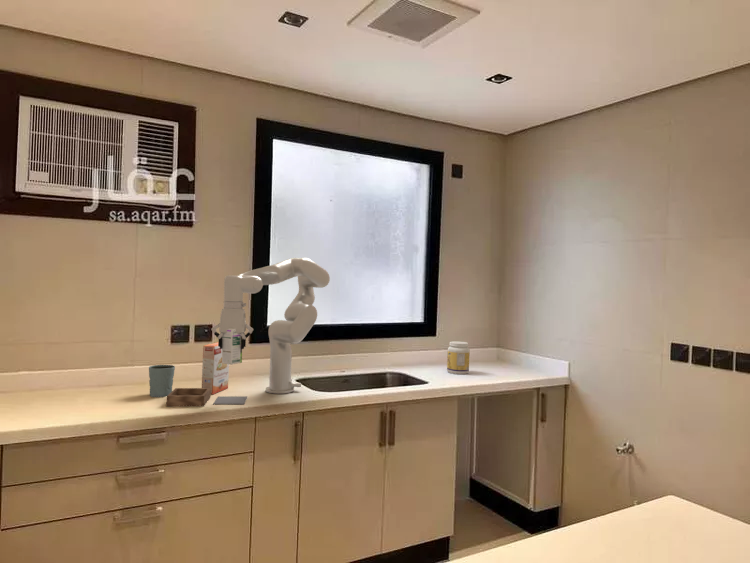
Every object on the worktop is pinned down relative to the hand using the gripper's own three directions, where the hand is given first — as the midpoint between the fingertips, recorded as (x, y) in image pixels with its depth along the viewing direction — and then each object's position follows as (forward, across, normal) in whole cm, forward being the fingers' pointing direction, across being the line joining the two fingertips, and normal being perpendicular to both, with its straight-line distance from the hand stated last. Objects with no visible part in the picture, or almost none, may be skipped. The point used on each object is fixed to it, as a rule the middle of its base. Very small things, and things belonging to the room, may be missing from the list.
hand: (232, 348), depth 211 cm
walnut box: (+22, +16, +2) cm, 27 cm away
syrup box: (+6, 0, 0) cm, 6 cm away
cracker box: (+22, +9, -18) cm, 30 cm away
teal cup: (+22, +30, -11) cm, 39 cm away
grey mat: (+22, 0, 0) cm, 22 cm away
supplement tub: (+22, -115, -63) cm, 133 cm away
